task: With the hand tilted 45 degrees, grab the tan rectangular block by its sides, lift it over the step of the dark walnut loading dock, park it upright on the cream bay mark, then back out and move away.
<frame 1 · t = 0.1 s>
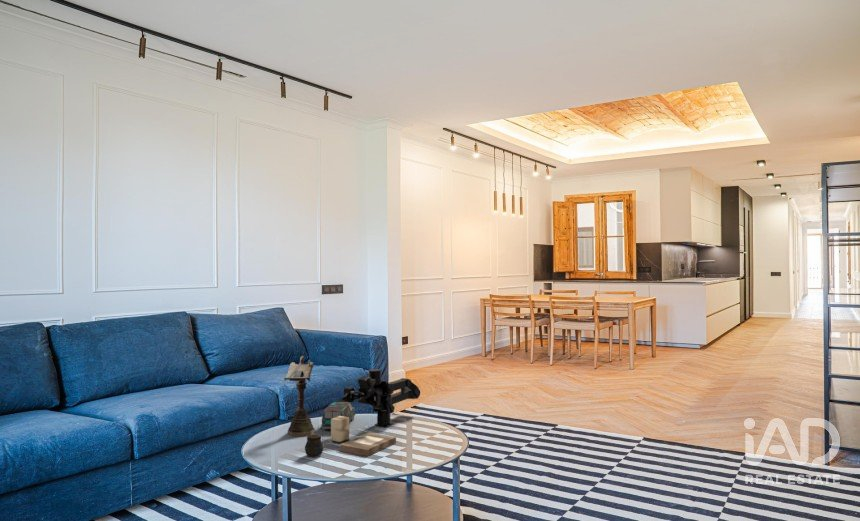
hand: (350, 400, 256), 17 cm above the table, tool horizontal, fingers open, 9 cm apart
loading dock: (368, 446, 244), on the table
mate gourd: (313, 456, 233), on the table
toy van: (338, 425, 279), on the table
book stand: (301, 434, 263), on the table
tan rectangular block: (340, 441, 251), on the table
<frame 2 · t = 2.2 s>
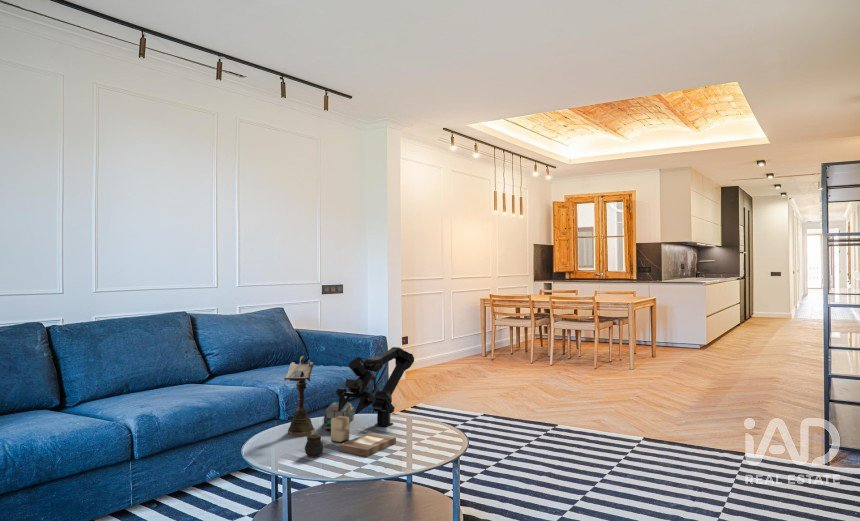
hand: (347, 412, 256), 11 cm above the table, tool tilted 45°, fingers open, 9 cm apart
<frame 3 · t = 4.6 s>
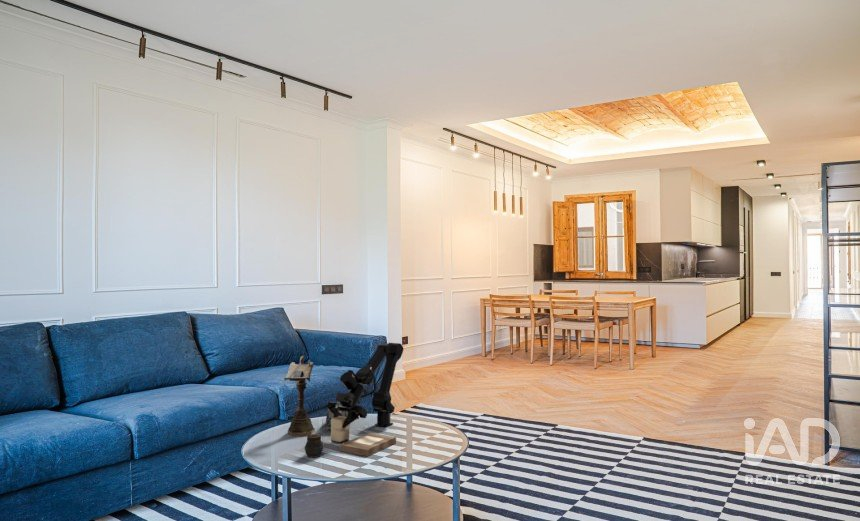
hand: (338, 426, 250), 7 cm above the table, tool tilted 45°, fingers closed on tan rectangular block, 5 cm apart
tan rectangular block: (340, 441, 251), on the table, touching gripper
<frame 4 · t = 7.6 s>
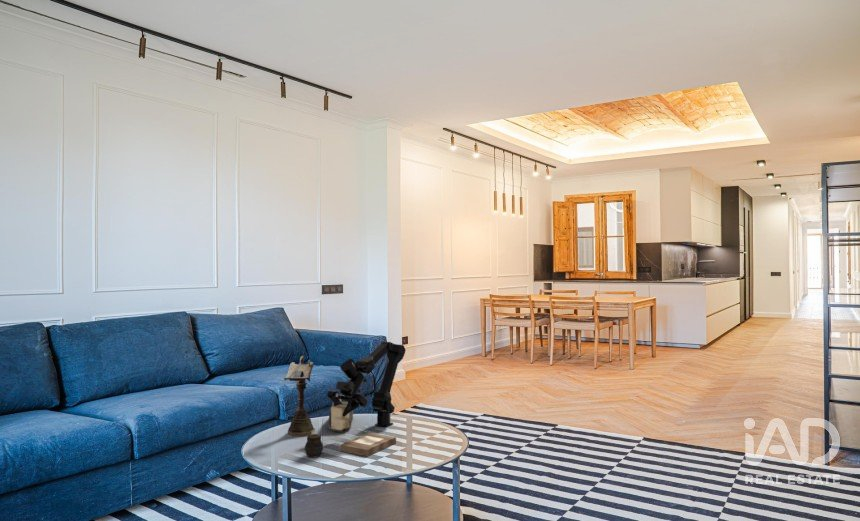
hand: (338, 415, 250), 12 cm above the table, tool tilted 45°, fingers closed on tan rectangular block, 5 cm apart
tan rectangular block: (340, 430, 251), point 5 cm above the table, touching gripper
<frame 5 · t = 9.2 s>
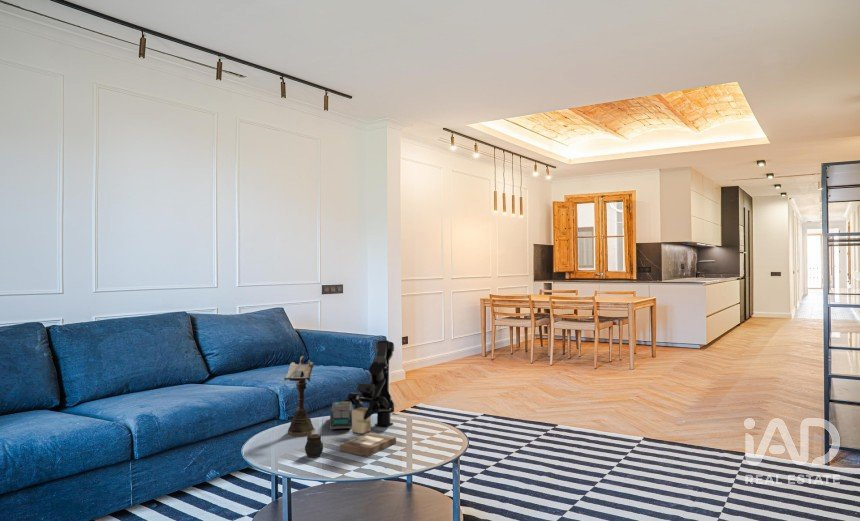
hand: (359, 418, 244), 12 cm above the table, tool tilted 45°, fingers closed on tan rectangular block, 5 cm apart
tan rectangular block: (361, 433, 245), point 5 cm above the table, touching gripper
when the fingers open (10 cm above the table, at t = 10.7 s): tan rectangular block stays where it is, resting on loading dock.
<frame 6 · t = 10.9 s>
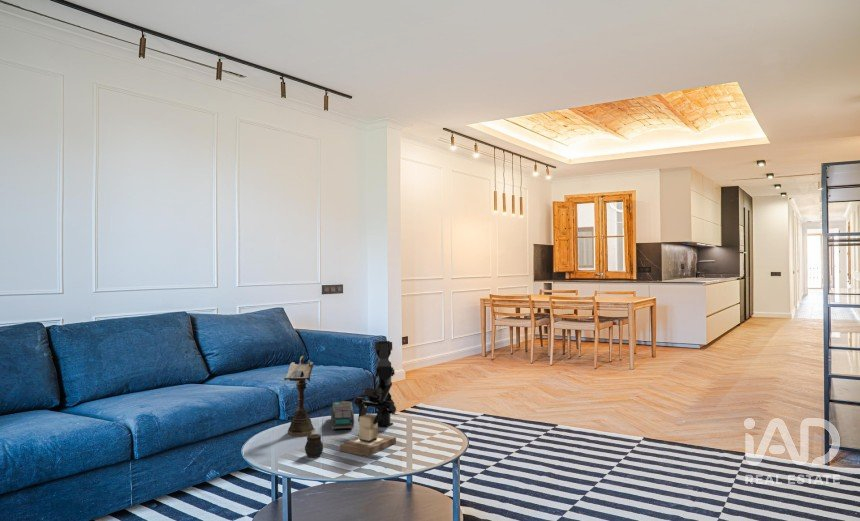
hand: (366, 422, 243), 10 cm above the table, tool tilted 45°, fingers open, 7 cm apart
tan rectangular block: (368, 440, 244), point 3 cm above the table, touching loading dock
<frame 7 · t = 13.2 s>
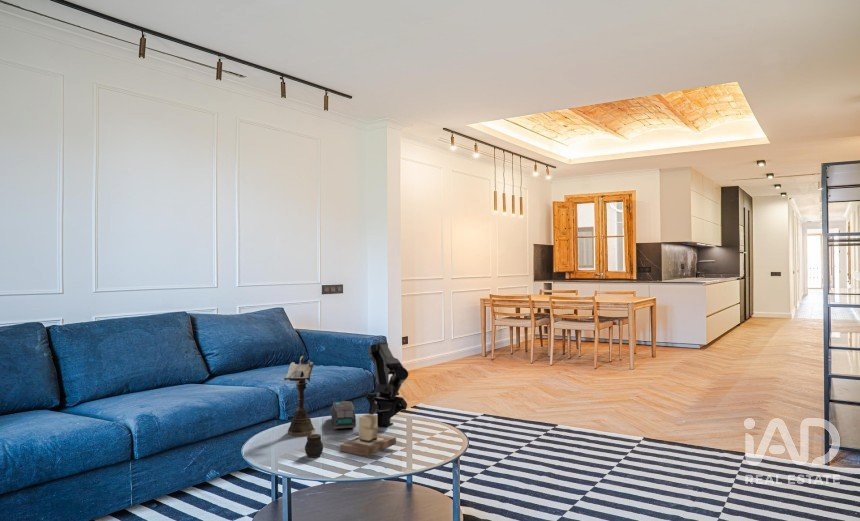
hand: (378, 418, 250), 10 cm above the table, tool tilted 45°, fingers open, 9 cm apart
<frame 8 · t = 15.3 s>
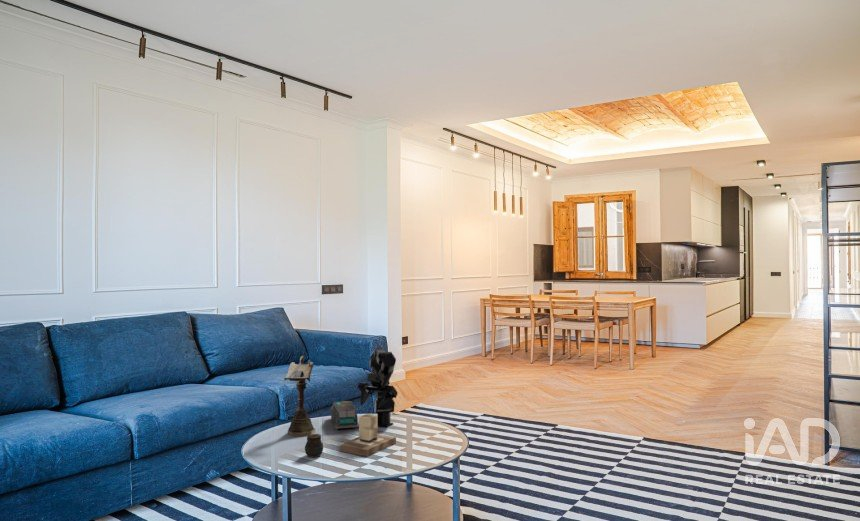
hand: (369, 405, 258), 14 cm above the table, tool tilted 45°, fingers open, 9 cm apart
at the end: tan rectangular block inside the target area on the loading dock (0.0 cm from its centre), point 2.7 cm above the loading dock's base; tan rectangular block tilted 0°; the gripper is holding nothing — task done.
